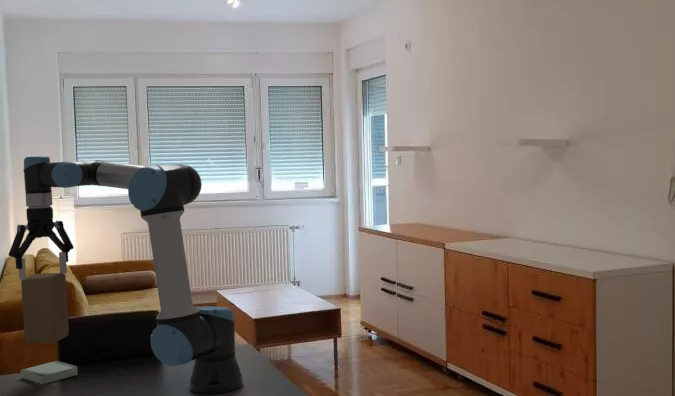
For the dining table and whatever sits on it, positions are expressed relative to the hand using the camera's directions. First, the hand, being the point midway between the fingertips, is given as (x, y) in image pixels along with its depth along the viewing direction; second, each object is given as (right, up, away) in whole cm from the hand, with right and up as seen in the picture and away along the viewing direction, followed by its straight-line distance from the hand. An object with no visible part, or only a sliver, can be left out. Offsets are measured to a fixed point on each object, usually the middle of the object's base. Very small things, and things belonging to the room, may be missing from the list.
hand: (43, 276), depth 234 cm
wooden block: (+1, -20, +1) cm, 20 cm away
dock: (+1, -31, +2) cm, 31 cm away
